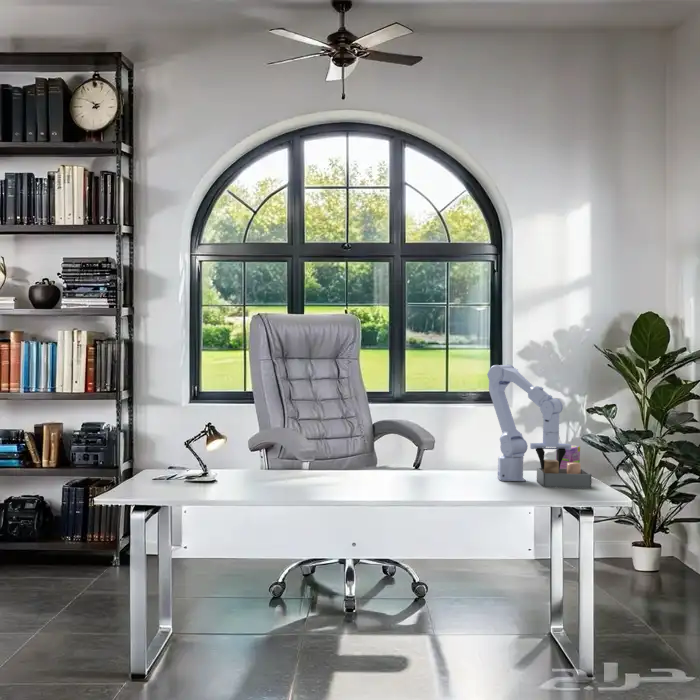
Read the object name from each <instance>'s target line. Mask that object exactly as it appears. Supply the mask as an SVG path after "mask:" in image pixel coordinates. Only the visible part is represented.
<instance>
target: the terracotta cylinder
mask: <svg viewBox="0 0 700 700" xmlns="http://www.w3.org/2000/svg"><path fill="white" fill-rule="evenodd" d="M581 466H582V464H581V462H580V463H578V462H568V463H567V474H581V469H582V468H581Z"/></svg>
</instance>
